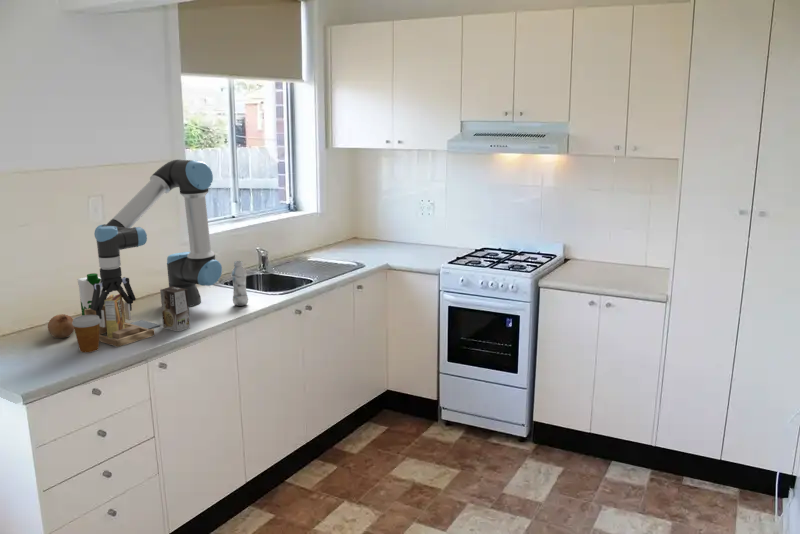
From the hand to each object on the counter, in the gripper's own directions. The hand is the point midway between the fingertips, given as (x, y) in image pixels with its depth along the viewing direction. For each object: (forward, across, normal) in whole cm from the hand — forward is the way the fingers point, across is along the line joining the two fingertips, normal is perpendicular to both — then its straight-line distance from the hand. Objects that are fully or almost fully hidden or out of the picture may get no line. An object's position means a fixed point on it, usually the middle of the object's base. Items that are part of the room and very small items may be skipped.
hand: (115, 322), depth 263 cm
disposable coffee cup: (+5, +16, +7) cm, 18 cm away
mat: (+5, -12, -1) cm, 13 cm away
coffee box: (+5, -19, +12) cm, 23 cm away
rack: (+5, 0, +3) cm, 6 cm away
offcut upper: (+3, +1, +8) cm, 9 cm away
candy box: (+5, 0, 0) cm, 5 cm away
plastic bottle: (+5, -56, +9) cm, 57 cm away
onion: (+5, +13, -15) cm, 21 cm away
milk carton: (+5, -6, -24) cm, 25 cm away
